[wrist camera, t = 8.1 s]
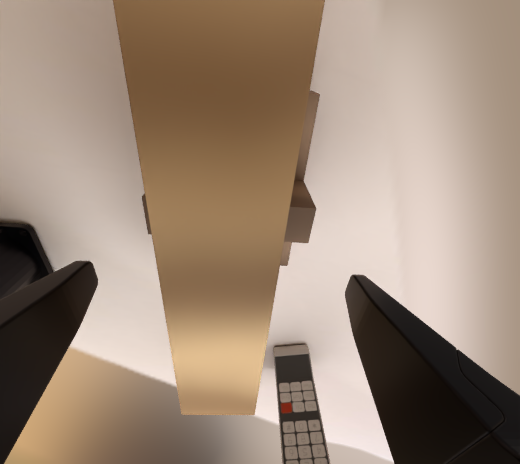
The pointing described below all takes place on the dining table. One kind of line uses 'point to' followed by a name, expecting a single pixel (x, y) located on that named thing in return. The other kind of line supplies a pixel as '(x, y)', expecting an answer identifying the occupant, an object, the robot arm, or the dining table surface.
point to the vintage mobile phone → (298, 408)
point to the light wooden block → (218, 173)
